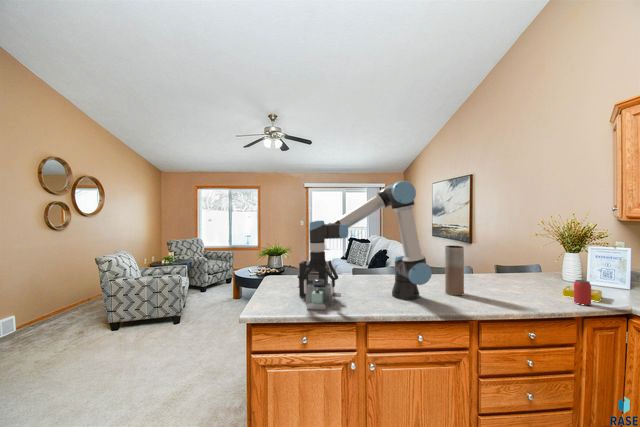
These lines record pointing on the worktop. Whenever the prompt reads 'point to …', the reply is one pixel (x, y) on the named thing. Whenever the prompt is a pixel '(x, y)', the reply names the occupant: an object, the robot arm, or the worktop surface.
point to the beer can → (582, 292)
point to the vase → (454, 270)
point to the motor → (327, 296)
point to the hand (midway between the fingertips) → (318, 293)
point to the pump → (317, 296)
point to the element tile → (595, 294)
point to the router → (311, 276)
